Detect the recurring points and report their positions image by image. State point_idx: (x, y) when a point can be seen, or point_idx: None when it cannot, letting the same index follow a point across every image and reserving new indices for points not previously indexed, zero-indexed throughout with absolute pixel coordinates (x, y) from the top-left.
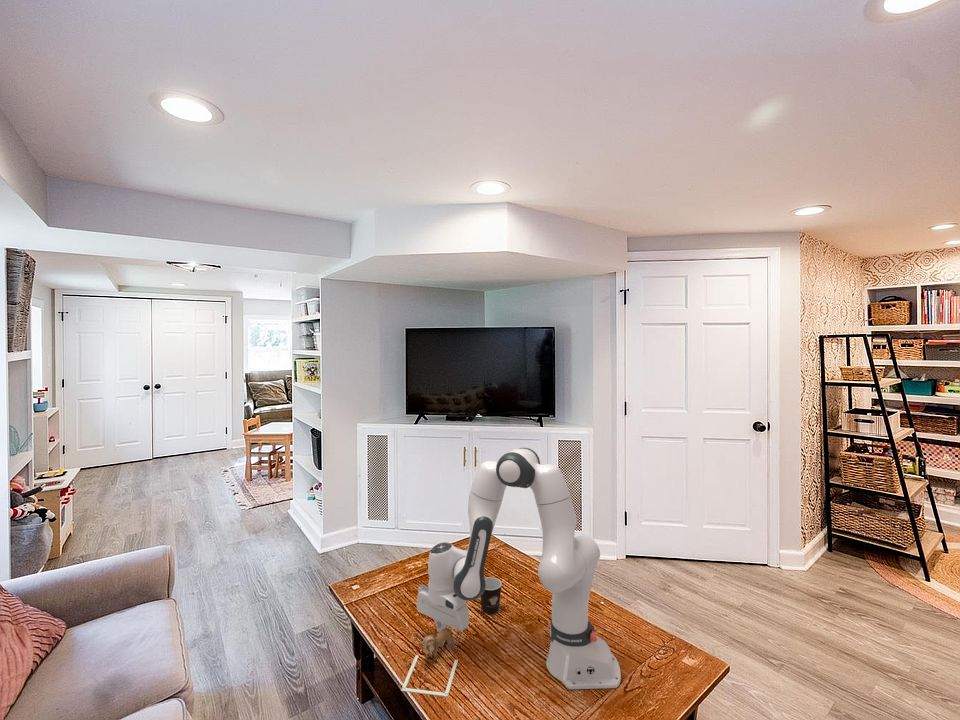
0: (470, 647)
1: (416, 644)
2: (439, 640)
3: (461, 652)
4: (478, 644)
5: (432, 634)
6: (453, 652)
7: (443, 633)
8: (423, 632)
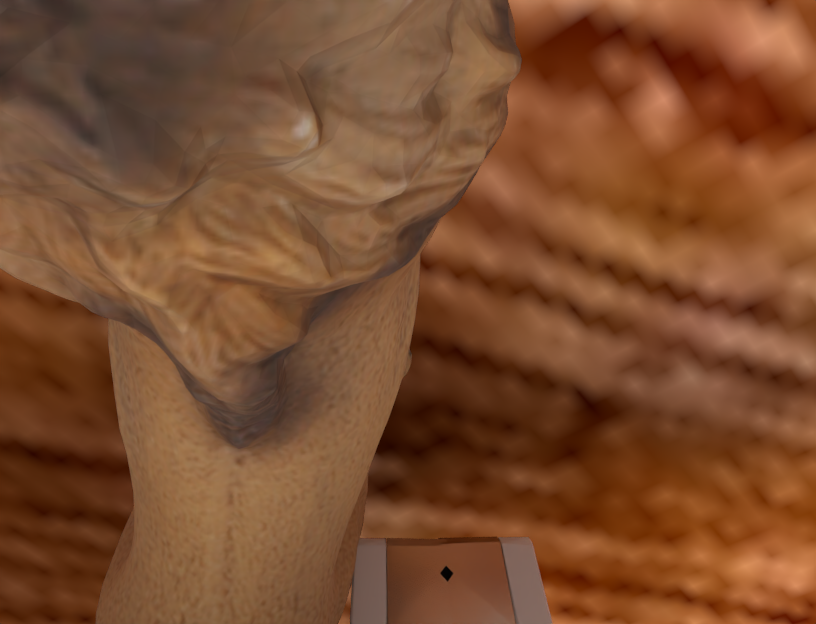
0: (34, 531)
1: (809, 173)
2: (108, 340)
3: (39, 416)
4: (8, 602)
5: (196, 333)
6: None
7: (158, 581)
8: (809, 427)
